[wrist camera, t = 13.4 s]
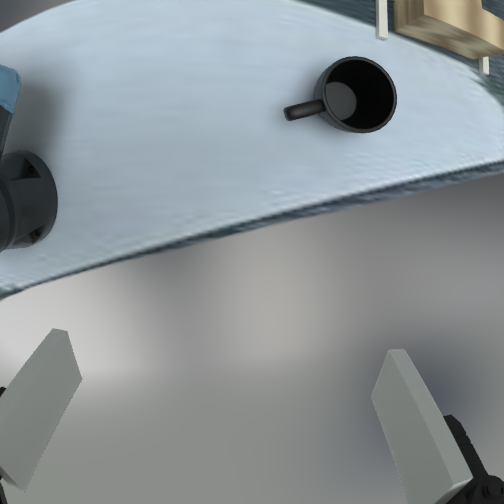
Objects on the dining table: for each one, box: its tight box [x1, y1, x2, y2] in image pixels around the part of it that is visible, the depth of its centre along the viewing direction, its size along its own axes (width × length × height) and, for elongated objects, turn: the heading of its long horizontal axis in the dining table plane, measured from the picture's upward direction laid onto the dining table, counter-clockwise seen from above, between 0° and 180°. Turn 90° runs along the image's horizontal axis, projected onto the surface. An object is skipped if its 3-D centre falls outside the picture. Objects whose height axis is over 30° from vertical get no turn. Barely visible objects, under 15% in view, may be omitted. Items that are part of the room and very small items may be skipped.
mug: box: [284, 56, 397, 133], centre depth 32 cm, size 8×12×10 cm
